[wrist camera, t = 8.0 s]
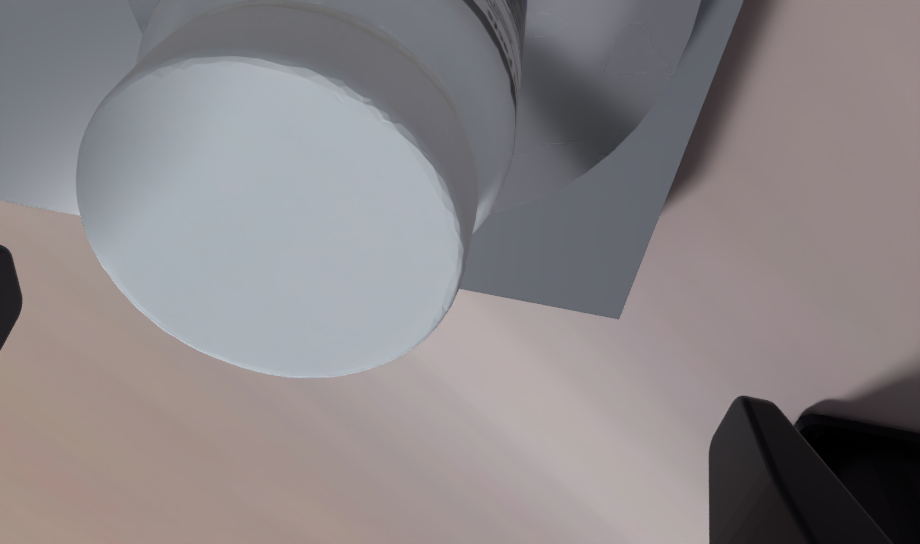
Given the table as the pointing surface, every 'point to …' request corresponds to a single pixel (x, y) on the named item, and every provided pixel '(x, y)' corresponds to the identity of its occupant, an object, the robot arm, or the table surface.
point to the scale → (492, 245)
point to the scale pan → (579, 83)
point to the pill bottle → (303, 172)
